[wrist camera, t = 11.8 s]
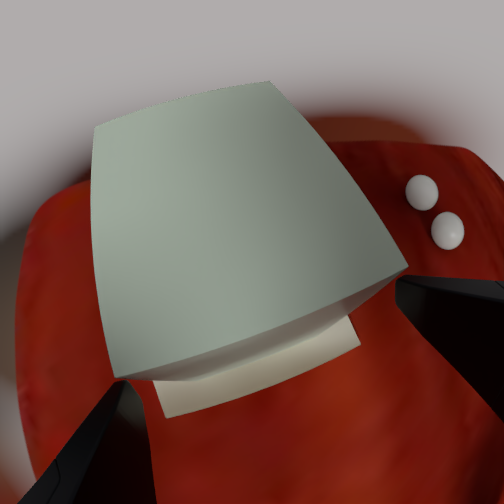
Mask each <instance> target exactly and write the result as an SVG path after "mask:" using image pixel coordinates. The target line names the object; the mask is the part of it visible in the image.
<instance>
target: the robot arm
mask: <svg viewBox="0 0 504 504" xmlns="http://www.w3.org/2000/svg"><path fill="white" fill-rule="evenodd" d="M395 302H396V305H397V307H398V308H399V309H400V310H401V311H402V312H403V314H404V315H405V316H406V317H407V318H408V319H409V321H410V322H411V323H412V324H413V325H414V327H415V328H416V329H417V330H418V331H419V332H420V334H421V335H422V336H423V337H424V338H425V339H426V340H427V341H428V342H429V343H430V344H431V345H432V346H433V347H434V348H435V349H436V350H437V351H438V352H439V353H440V354H441V355H442V356H443V357H444V358H445V359H446V360H447V361H448V362H449V363H450V364H451V365H452V366H453V367H454V368H455V369H456V370H457V371H458V372H459V373H460V374H461V375H462V377H463V378H464V379H465V380H466V381H467V382H468V383H469V384H470V385H471V386H472V387H473V388H474V389H475V391H476V392H477V393H478V394H479V395H480V396H481V397H482V398H483V399H484V400H485V402H486V403H487V404H488V405H489V406H490V407H491V409H492V410H493V411H494V412H495V413H496V414H497V416H498V417H499V418H500V419H501V420H502V422H503V423H504V281H492V280H476V279H461V278H446V277H432V276H418V275H403V276H402V277H400V278H398V279H397V280H396V282H395ZM17 504H157V501H156V495H155V488H154V480H153V471H152V462H151V451H150V443H149V438H148V432H147V427H146V421H145V415H144V409H143V403H142V400H141V398H140V396H139V395H138V394H137V392H136V391H135V390H134V388H133V387H132V385H131V384H130V383H129V381H127V380H121V381H117V382H114V383H113V385H112V386H111V387H110V388H109V390H108V391H107V392H106V393H105V395H104V396H103V397H102V398H101V400H100V401H99V402H98V403H97V405H96V406H95V407H94V408H93V410H92V411H91V412H90V413H89V415H88V416H87V417H86V419H85V420H84V421H83V422H82V424H81V425H80V426H79V428H78V429H77V430H76V431H75V433H74V434H73V435H72V437H71V438H70V439H69V440H68V442H67V443H66V444H65V446H64V447H63V448H62V450H61V451H60V452H59V454H58V455H57V456H56V459H54V460H53V461H52V463H51V464H50V466H49V467H48V468H47V469H46V471H45V472H44V473H43V475H42V476H41V477H40V478H39V479H38V481H37V482H36V483H35V484H34V485H33V486H32V488H31V489H30V490H29V491H28V492H27V493H26V494H25V495H24V497H23V498H22V499H21V500H20V501H19V502H18V503H17Z"/></svg>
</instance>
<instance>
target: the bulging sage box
mask: <svg viewBox="0 0 504 504" xmlns="http://www.w3.org/2000/svg"><path fill="white" fill-rule="evenodd" d="M91 170H92V171H91V230H92V247H93V259H94V270H95V279H96V287H97V294H98V301H99V307H100V313H101V319H102V324H103V329H104V334H105V339H106V344H107V348H108V353H109V357H110V361H111V365H112V369H113V372H114V376H115V378H122V379H135V380H153V381H199V380H202V379H206V378H209V377H212V376H215V375H218V374H221V373H224V372H227V371H230V370H233V369H236V368H239V367H242V366H244V365H247V364H250V363H253V362H255V361H258V360H261V359H263V358H266V357H268V356H271V355H274V354H276V353H279V352H281V351H284V350H286V349H288V348H291V347H293V346H296V345H298V344H300V343H303V342H305V341H307V340H310V339H312V338H314V337H316V336H318V335H319V334H321V333H322V332H324V331H325V330H327V329H328V328H329V327H331V326H332V325H334V324H335V323H337V322H338V321H339V320H341V319H342V318H344V317H345V316H346V315H348V314H349V313H350V312H352V311H353V310H355V309H356V308H357V307H359V306H360V305H361V304H363V303H364V302H365V301H367V300H368V299H369V298H370V297H372V296H373V295H374V294H376V293H377V292H378V291H379V290H381V289H382V288H383V287H384V286H386V285H387V284H388V283H389V282H391V281H392V280H393V279H394V278H395V277H397V276H398V275H399V274H400V273H401V272H403V271H404V270H405V269H406V268H407V267H408V264H407V263H406V261H405V259H404V257H403V255H402V254H401V252H400V250H399V249H398V247H397V245H396V243H395V242H394V240H393V238H392V237H391V235H390V233H389V232H388V230H387V229H386V227H385V225H384V224H383V222H382V221H381V219H380V218H379V216H378V214H377V213H376V211H375V210H374V208H373V207H372V205H371V204H370V202H369V201H368V200H367V198H366V197H365V195H364V194H363V192H362V191H361V189H360V188H359V187H358V185H357V184H356V182H355V181H354V180H353V178H352V177H351V176H350V174H349V173H348V171H347V170H346V169H345V167H344V166H343V165H342V163H341V162H340V161H339V160H338V158H337V157H336V156H335V154H334V153H333V152H332V151H331V149H330V148H329V147H328V146H327V144H326V143H325V142H324V141H323V140H322V138H321V137H320V136H319V135H318V133H317V132H316V131H315V130H314V129H313V128H312V126H311V125H310V124H309V123H308V122H307V121H306V119H305V118H304V117H303V116H302V115H301V114H300V113H299V112H298V111H297V110H296V108H295V107H294V106H293V105H292V104H291V103H290V102H289V101H288V100H287V99H286V98H285V97H284V96H283V94H282V93H281V92H280V91H279V90H278V89H277V88H276V87H275V86H274V85H273V84H272V83H271V82H270V81H267V82H259V83H252V84H245V85H239V86H233V87H228V88H222V89H217V90H212V91H207V92H203V93H199V94H195V95H190V96H186V97H183V98H178V99H175V100H171V101H168V102H164V103H161V104H157V105H154V106H151V107H148V108H145V109H142V110H139V111H136V112H133V113H130V114H127V115H125V116H122V117H119V118H117V119H114V120H111V121H109V122H106V123H104V124H101V125H99V126H96V127H95V131H94V140H93V152H92V169H91Z"/></svg>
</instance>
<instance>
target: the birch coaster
mask: <svg viewBox="0 0 504 504" xmlns="http://www.w3.org/2000/svg"><path fill="white" fill-rule="evenodd" d="M359 345H361V344H360V341H359V339H358V337H357V335H356V333H355V330H354V328H353V326H352V324H351V322H350V320H349V318H348V315H346V316H345V317H344V318H342V319H341V320H339V321H338V322H337V323H335V324H334V325H332V326H331V327H329V328H328V329H327V330H325V331H324V332H322V333H321V334H319V335H318V336H316V337H314V338H312V339H310V340H307V341H305V342H303V343H300V344H298V345H296V346H293V347H291V348H288V349H286V350H284V351H281V352H279V353H276V354H274V355H271V356H268V357H266V358H263V359H261V360H258V361H255V362H253V363H250V364H247V365H244V366H242V367H239V368H236V369H233V370H230V371H227V372H224V373H221V374H218V375H215V376H212V377H209V378H206V379H202V380H199V381H153V382H154V385H155V388H156V391H157V394H158V397H159V400H160V403H161V405H162V408H163V411H164V414H165V416H166V418H170V417H174V416H178V415H182V414H186V413H190V412H194V411H197V410H201V409H204V408H208V407H211V406H214V405H218V404H221V403H224V402H227V401H230V400H233V399H236V398H239V397H242V396H245V395H248V394H251V393H253V392H256V391H259V390H262V389H264V388H267V387H269V386H272V385H275V384H277V383H280V382H282V381H285V380H287V379H289V378H292V377H294V376H296V375H299V374H301V373H303V372H306V371H308V370H310V369H312V368H314V367H317V366H319V365H321V364H323V363H325V362H327V361H329V360H331V359H333V358H336V357H338V356H340V355H342V354H343V353H345V352H347V351H349V350H351V349H353V348H355V347H357V346H359Z"/></svg>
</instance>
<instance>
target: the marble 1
mask: <svg viewBox="0 0 504 504" xmlns="http://www.w3.org/2000/svg"><path fill="white" fill-rule="evenodd" d="M406 197H407V200H408V202H409V203H410V205H411V206H412V207H414V208H415V209H417V210H421V211H425V210H429V209H431V208H432V207H433V206H434V205H435V204H436V202H437V199H438V188H437V186H436V184H435V182H434V181H433V180H432V179H431V178H429V177H428V176H425V175H417V176H414V177H412V178H411V179H410V180H409V182H408V183H407V186H406Z"/></svg>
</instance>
